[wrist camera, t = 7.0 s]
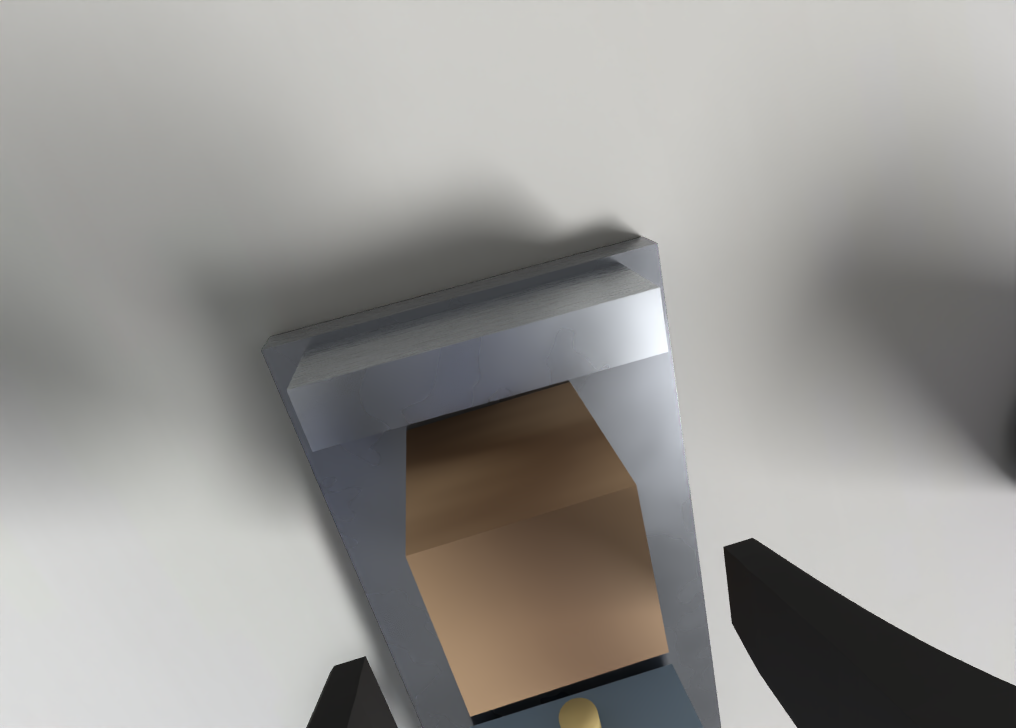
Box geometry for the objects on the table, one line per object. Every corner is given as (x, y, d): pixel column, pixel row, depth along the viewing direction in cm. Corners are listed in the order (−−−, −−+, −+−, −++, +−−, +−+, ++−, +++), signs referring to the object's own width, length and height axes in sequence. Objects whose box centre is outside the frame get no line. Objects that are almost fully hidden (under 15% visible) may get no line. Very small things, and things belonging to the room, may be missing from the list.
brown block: (453, 561, 17) (470, 716, 13) (406, 430, 16) (405, 556, 11) (600, 515, 18) (668, 652, 13) (569, 381, 16) (636, 485, 11)
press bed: (712, 731, 23) (760, 826, 20) (468, 809, 23) (477, 921, 20) (642, 236, 16) (703, 263, 12) (269, 336, 15) (232, 392, 12)
